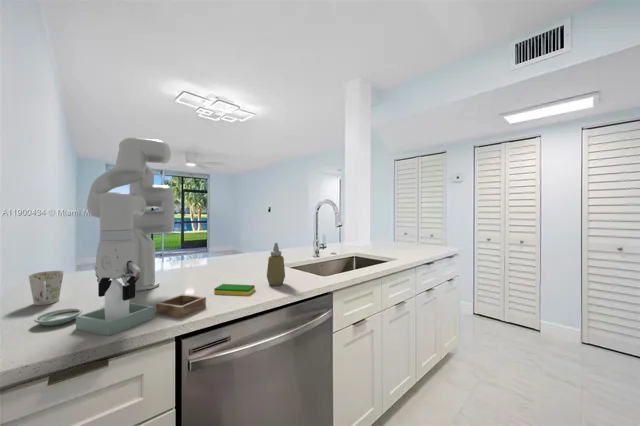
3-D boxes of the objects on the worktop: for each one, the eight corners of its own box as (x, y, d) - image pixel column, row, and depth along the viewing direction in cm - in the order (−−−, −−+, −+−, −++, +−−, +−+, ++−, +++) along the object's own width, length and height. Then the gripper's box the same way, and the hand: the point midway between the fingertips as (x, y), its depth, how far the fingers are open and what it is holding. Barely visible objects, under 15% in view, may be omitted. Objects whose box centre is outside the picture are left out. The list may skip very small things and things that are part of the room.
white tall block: (134, 276, 77) (113, 281, 72) (134, 317, 77) (113, 325, 72) (120, 274, 79) (99, 278, 74) (120, 314, 79) (98, 321, 74)
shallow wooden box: (156, 313, 83) (156, 303, 83) (182, 302, 92) (182, 294, 92) (181, 317, 80) (181, 307, 80) (205, 306, 89) (205, 297, 89)
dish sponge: (248, 296, 101) (248, 290, 101) (213, 294, 103) (213, 288, 103) (255, 291, 108) (255, 285, 108) (222, 289, 110) (222, 283, 110)
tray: (75, 328, 72) (75, 316, 72) (123, 312, 84) (123, 301, 84) (108, 335, 68) (108, 322, 68) (153, 317, 79) (153, 306, 79)
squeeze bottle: (283, 287, 112) (284, 244, 112) (264, 286, 112) (264, 244, 112) (286, 282, 120) (286, 242, 120) (268, 281, 121) (268, 241, 120)
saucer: (25, 332, 70) (25, 323, 70) (45, 318, 78) (45, 310, 78) (73, 326, 73) (73, 317, 73) (87, 314, 82) (87, 306, 82)
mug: (63, 296, 98) (63, 269, 98) (63, 305, 89) (63, 275, 89) (29, 302, 92) (29, 273, 92) (26, 312, 83) (26, 279, 83)
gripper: (81, 236, 75) (81, 297, 75) (125, 238, 69) (125, 305, 69) (109, 234, 82) (109, 290, 82) (152, 236, 76) (151, 296, 76)
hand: (116, 297), depth 76 cm, fingers open, 9 cm apart
